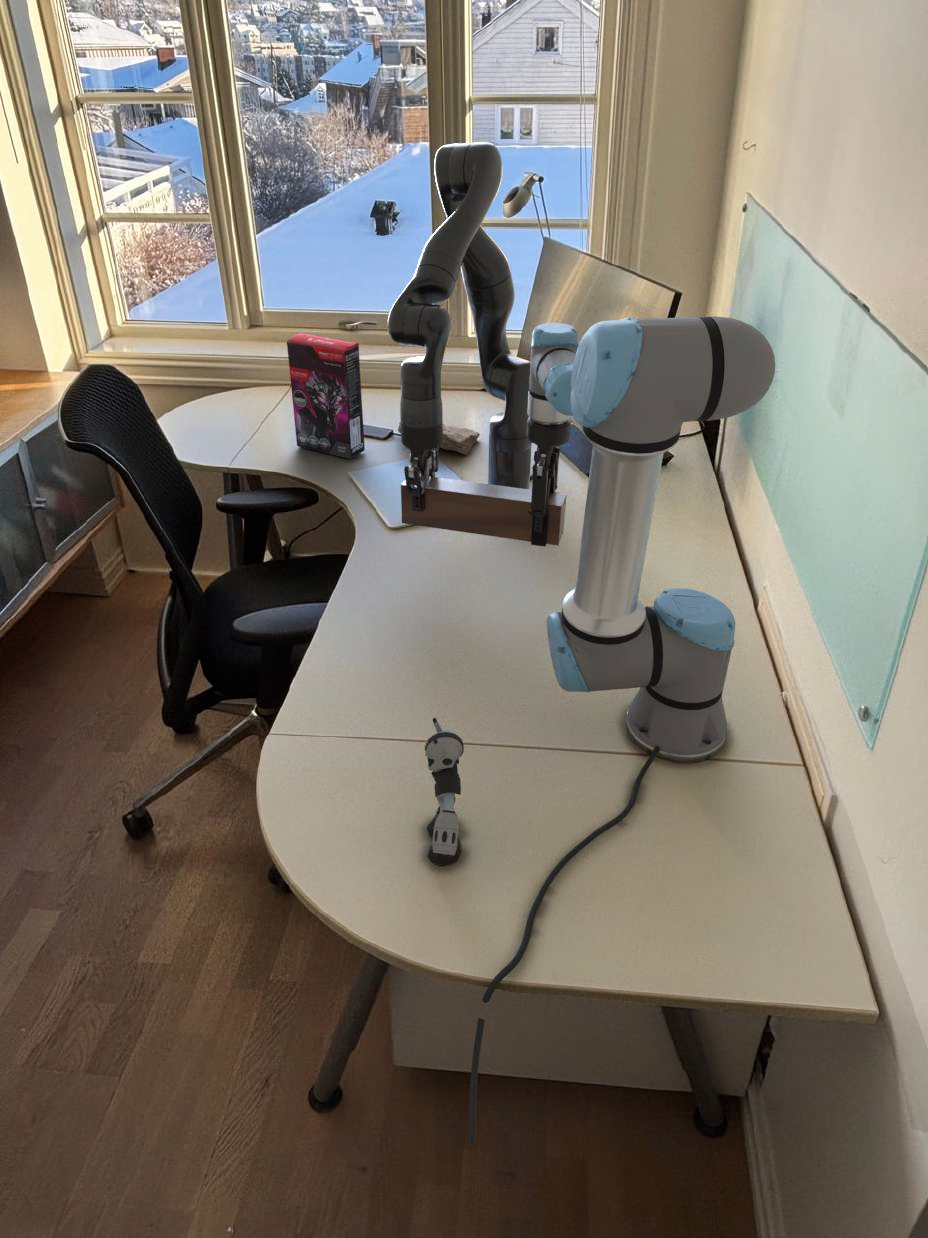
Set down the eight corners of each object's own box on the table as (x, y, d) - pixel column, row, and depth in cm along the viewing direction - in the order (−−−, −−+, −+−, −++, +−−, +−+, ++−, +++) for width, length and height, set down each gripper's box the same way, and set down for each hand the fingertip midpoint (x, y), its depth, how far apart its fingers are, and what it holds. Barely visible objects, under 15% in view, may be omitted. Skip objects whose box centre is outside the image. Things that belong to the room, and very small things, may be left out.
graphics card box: (294, 447, 232) (283, 339, 217) (310, 437, 237) (301, 331, 222) (351, 461, 225) (344, 350, 210) (367, 450, 230) (361, 342, 215)
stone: (382, 437, 229) (387, 414, 227) (402, 429, 243) (406, 406, 240) (461, 462, 226) (467, 438, 223) (477, 452, 239) (482, 429, 237)
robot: (466, 900, 116) (468, 784, 104) (427, 902, 115) (425, 785, 104) (459, 789, 132) (460, 678, 121) (425, 790, 132) (423, 679, 120)
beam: (558, 545, 167) (561, 506, 163) (401, 523, 174) (400, 484, 169) (563, 533, 171) (566, 494, 167) (410, 511, 178) (409, 473, 173)
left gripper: (429, 435, 157) (431, 524, 167) (452, 405, 169) (452, 490, 178) (388, 430, 159) (391, 518, 168) (413, 401, 170) (416, 485, 180)
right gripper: (561, 440, 149) (552, 564, 162) (579, 401, 164) (570, 518, 177) (516, 434, 151) (510, 558, 164) (538, 397, 165) (531, 513, 178)
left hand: (423, 503), depth 173 cm, fingers closed on beam, 5 cm apart
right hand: (541, 537), depth 170 cm, fingers closed on beam, 5 cm apart
